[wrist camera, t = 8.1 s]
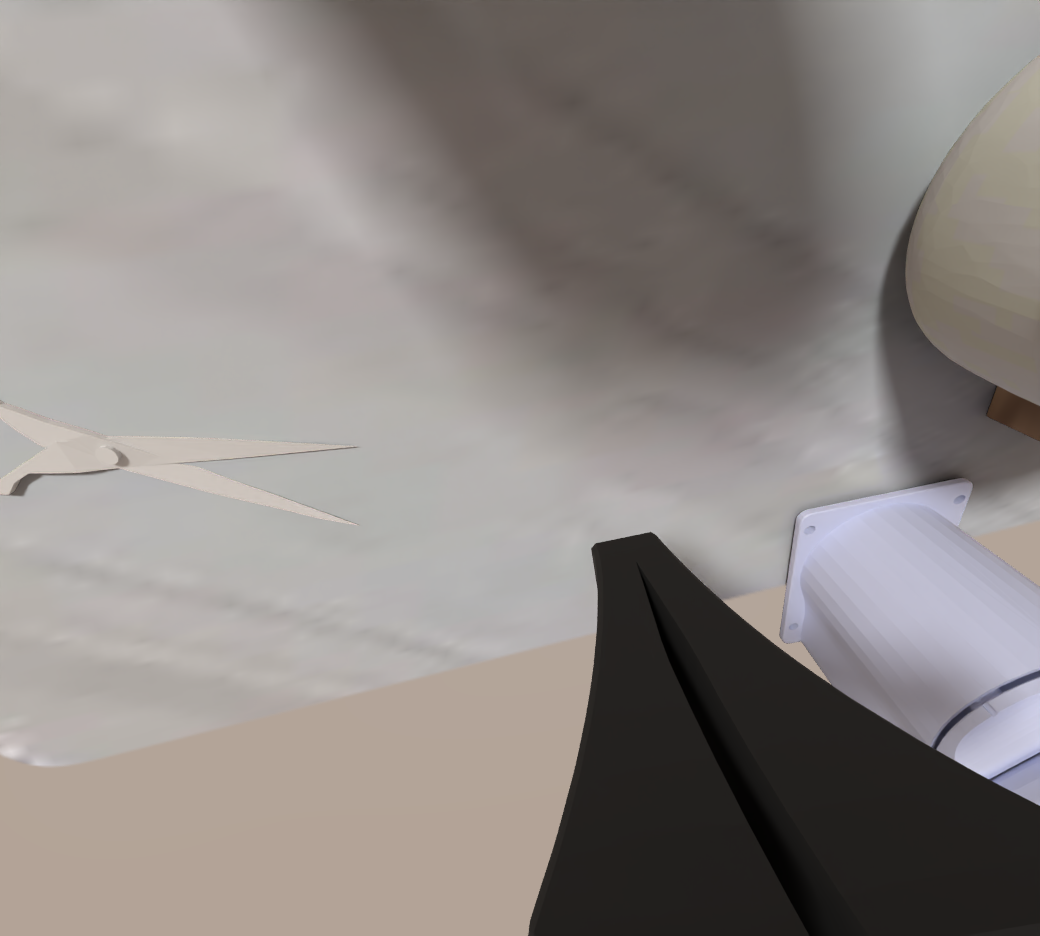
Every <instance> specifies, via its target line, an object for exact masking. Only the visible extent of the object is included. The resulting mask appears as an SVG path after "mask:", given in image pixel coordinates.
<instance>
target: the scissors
mask: <svg viewBox="0 0 1040 936" xmlns="http://www.w3.org/2000/svg"><path fill="white" fill-rule="evenodd" d="M0 419H2V420H3V421H4V422H6V423H7V424H8V425H9V426H11V427H12V428H13V429H15V430H16V431H17V432H19V433H21V434H22V435H24V436H25V437H27V438H29V439H30V440H32V441H33V442H35V443H37V444H38V445H40V446H42V447H46V449H44V450H43V451H41V452H40V453H38V454H37V455H35V456H33V457H32V458H30V459H29V460H27V461H26V462H24V463H23V464H21V465H20V466H18V467H17V468H15V469H14V470H13V471H11V472H10V473H9V474H7V475H5V476H4V477H1V478H0V494H3V495H9V494H11V493H12V492H14V491H15V490H16V488H17V485H18V483H19V481H20V479H21V478H23V477H24V476H26V475H27V474H29V473H49V474H52V473H81V472H90V471H98V470H107V469H116V468H120V469H124V470H127V471H131V472H135V473H138V474H142V475H146V476H150V477H153V478H157V479H161V480H164V481H168V482H172V483H175V484H179V485H183V486H187V487H190V488H194V489H198V490H201V491H206V492H210V493H214V494H218V495H222V496H226V497H230V498H234V499H238V500H243V501H247V502H252V503H256V504H261V505H265V506H270V507H274V508H278V509H282V510H286V511H290V512H295V513H299V514H303V515H307V516H311V517H315V518H319V519H325V520H331V521H336V522H342V523H348V524H353V525H357V524H354V523H352V522H349V521H346V520H343V519H341V518H338V517H335V516H332V515H330V514H327V513H324V512H321V511H319V510H316V509H313V508H310V507H308V506H305V505H302V504H299V503H297V502H294V501H291V500H288V499H286V498H283V497H280V496H277V495H275V494H272V493H269V492H266V491H263V490H260V489H257V488H254V487H251V486H248V485H245V484H242V483H239V482H237V481H234V480H231V479H229V478H226V477H223V476H221V475H218V474H216V473H213V472H210V471H208V470H205V469H202V468H199V467H195V466H189V465H183V464H178V463H185V462H197V461H210V460H222V459H234V458H246V457H256V456H266V455H276V454H287V453H297V452H307V451H317V450H327V449H337V448H347V447H357V446H344V445H327V444H310V443H292V442H275V441H258V440H239V439H217V438H188V437H144V436H110V437H108V436H105V435H103V434H100V433H97V432H94V431H91V430H87V429H84V428H80V427H77V426H74V425H70V424H67V423H63V422H60V421H57V420H53V419H50V418H47V417H44V416H41V415H39V414H36V413H33V412H30V411H28V410H25V409H22V408H19V407H16V406H13V405H10V404H7V403H4V402H2V401H1V400H0ZM359 526H360V525H359Z"/></svg>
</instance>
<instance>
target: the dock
mask: <svg viewBox="0 0 1040 936" xmlns="http://www.w3.org/2000/svg"><path fill="white" fill-rule="evenodd" d="M986 416H987V417H989V418H991V419H993V420H996V421H998V422H1000V423H1002V424H1004V425H1006V426H1008V427H1010V428H1012V429H1015V430H1017V431H1019V432H1021V433H1023V434H1025V435H1027V436H1029V437H1032V438H1034V439H1036V440H1038V441H1040V406H1039V405H1037V404H1034V403H1032V402H1030V401H1028V400H1026V399H1024V398H1021V397H1019V396H1017V395H1015V394H1013V393H1011V392H1009V391H1007V390H1005V389H1003V388H1001V387H999V386H997V388H996V391H995V393H994V396H993V399H992V402H991V404H990V407H989V410H988V413H987V415H986Z"/></svg>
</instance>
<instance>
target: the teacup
mask: <svg viewBox="0 0 1040 936" xmlns="http://www.w3.org/2000/svg"><path fill="white" fill-rule="evenodd" d="M905 276H906V290H907V294H908V299H909V303H910V307H911V310H912V313H913V316H914V318H915V320H916V322H917V324H918V325H919V327H920V328H921V330H922V331H923V333H924V334H925V336H926V337H927V338H928V339H929V340H930V342H931V343H932V344H933V345H934V346H935V347H936V348H937V349H939V350H940V351H941V352H942V353H943V354H944V355H945V356H947V357H948V358H949V359H950V360H952V361H954V362H955V363H957V364H958V365H960V366H962V367H963V368H965V369H967V370H968V371H970V372H972V373H974V374H976V375H978V376H979V377H981V378H983V379H985V380H987V381H989V382H991V383H993V384H995V385H997V386H999V387H1001V388H1003V389H1005V390H1007V391H1009V392H1011V393H1013V394H1015V395H1017V396H1019V397H1021V398H1024V399H1026V400H1028V401H1030V402H1032V403H1034V404H1037V405H1039V406H1040V55H1039V56H1037V57H1036V58H1035V59H1034V60H1032V61H1031V62H1030V63H1029V64H1028V65H1026V66H1025V67H1024V68H1023V69H1022V70H1021V71H1020V72H1019V73H1018V74H1017V75H1015V76H1014V77H1013V78H1012V79H1011V80H1010V81H1009V82H1008V83H1007V84H1006V85H1005V86H1004V87H1003V88H1002V89H1001V90H1000V91H999V92H998V93H997V94H996V95H995V96H994V97H993V98H992V99H991V100H990V101H989V102H988V103H987V104H986V105H985V106H984V107H983V108H982V110H981V111H980V112H979V113H978V114H977V115H976V117H975V118H974V119H973V120H972V121H971V122H970V124H969V125H968V127H967V128H966V129H965V131H964V132H963V133H962V135H961V136H960V137H959V139H958V140H957V141H956V143H955V144H954V145H953V147H952V148H951V149H950V151H949V152H948V154H947V155H946V157H945V158H944V160H943V162H942V163H941V165H940V167H939V169H938V170H937V172H936V174H935V176H934V177H933V179H932V181H931V183H930V185H929V187H928V189H927V191H926V194H925V196H924V198H923V200H922V202H921V204H920V207H919V210H918V212H917V215H916V218H915V220H914V224H913V227H912V231H911V234H910V239H909V244H908V249H907V257H906V271H905Z"/></svg>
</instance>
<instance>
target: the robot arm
mask: <svg viewBox="0 0 1040 936" xmlns="http://www.w3.org/2000/svg"><path fill="white" fill-rule="evenodd" d="M972 489H973V484H972V483H971V482H970V481H968V480H967V479H965V478H958V479H953V480H948V481H943V482H938V483H933V484H928V485H924V486H919V487H914V488H909V489H904V490H899V491H894V492H890V493H885V494H880V495H875V496H870V497H865V498H860V499H856V500H851V501H846V502H841V503H836V504H831V505H826V506H822V507H817V508H812V509H807V510H804V511H802V512H801V513H800V514H799V515H798V516H797V519H796V524H795V531H794V538H793V545H792V552H791V558H790V565H789V572H788V579H787V586H786V593H785V600H784V607H783V614H782V621H781V627H780V638H781V639H782V641H783V642H784V643H795V642H800V641H801V642H802V643H803V644H804V646H805V647H806V649H807V650H808V652H809V653H810V655H811V656H812V657H813V659H814V660H815V662H816V663H817V665H818V666H819V667H820V669H821V670H822V672H823V673H824V674H825V676H826V677H827V679H828V680H829V682H830V683H831V685H830V684H829V683H828V682H826V681H825V680H823V679H822V678H820V677H819V676H817V675H816V674H814V673H813V672H812V671H810V670H809V669H808V668H806V667H805V666H803V665H802V664H800V663H799V662H797V661H796V660H795V659H794V658H792V657H791V656H789V655H788V654H787V653H785V652H784V651H783V650H781V649H780V648H779V647H777V646H776V645H775V644H774V643H772V642H771V641H770V640H768V639H767V638H766V637H765V636H763V635H762V634H761V633H760V632H758V631H757V630H756V629H755V628H753V627H752V626H751V625H750V624H749V623H747V622H746V621H745V620H744V619H742V618H741V617H740V616H739V615H738V614H736V613H735V612H734V611H733V610H732V609H731V608H730V607H728V606H727V605H726V604H725V603H724V602H723V601H722V600H721V599H720V598H718V597H717V596H716V595H715V594H714V593H713V592H712V591H711V590H710V589H708V588H707V587H706V586H705V585H704V584H703V583H702V582H701V581H700V580H699V579H698V578H697V577H696V576H695V575H694V574H693V573H692V572H691V571H690V570H688V569H687V568H686V567H685V566H684V565H683V564H682V563H681V562H680V561H679V559H678V558H677V557H676V556H675V555H674V554H673V553H672V552H671V551H670V550H669V549H668V548H667V547H666V546H665V545H664V544H663V543H662V541H661V540H660V539H659V538H658V537H657V536H656V535H655V534H653V533H652V532H649V533H644V534H640V535H635V536H630V537H625V538H620V539H615V540H611V541H606V542H601V543H596V544H595V545H594V546H593V547H592V548H591V550H592V556H593V563H594V569H595V575H596V582H597V588H598V617H597V635H596V646H595V658H594V667H593V675H592V682H591V689H590V695H589V701H588V707H587V713H586V718H585V723H584V728H583V733H582V738H581V743H580V748H579V752H578V757H577V761H576V766H575V770H574V774H573V778H572V782H571V785H570V789H569V793H568V797H567V800H566V804H565V808H564V812H563V815H562V820H561V823H560V827H559V830H558V834H557V837H556V841H555V844H554V848H553V851H552V854H551V857H550V860H549V863H548V867H547V870H546V873H545V876H544V879H543V882H542V885H541V888H540V891H539V895H538V898H537V901H536V904H535V907H534V910H533V913H532V917H531V920H530V925H529V935H528V936H1040V587H1039V586H1038V585H1037V584H1035V583H1034V582H1032V581H1031V580H1030V579H1028V578H1027V577H1025V576H1024V575H1023V574H1021V573H1020V572H1019V571H1017V570H1016V569H1015V568H1013V567H1012V566H1010V565H1009V564H1008V563H1006V562H1005V561H1004V560H1002V559H1001V558H1000V557H998V556H997V555H995V554H994V553H993V552H991V551H990V550H989V549H987V548H986V547H984V546H983V545H982V544H980V543H979V542H978V541H976V540H975V539H973V538H972V537H971V536H969V535H968V534H967V533H965V532H964V531H962V530H961V529H960V528H958V526H959V523H960V520H961V518H962V515H963V513H964V510H965V507H966V505H967V502H968V500H969V497H970V494H971V492H972ZM807 527H808V528H807Z"/></svg>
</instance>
